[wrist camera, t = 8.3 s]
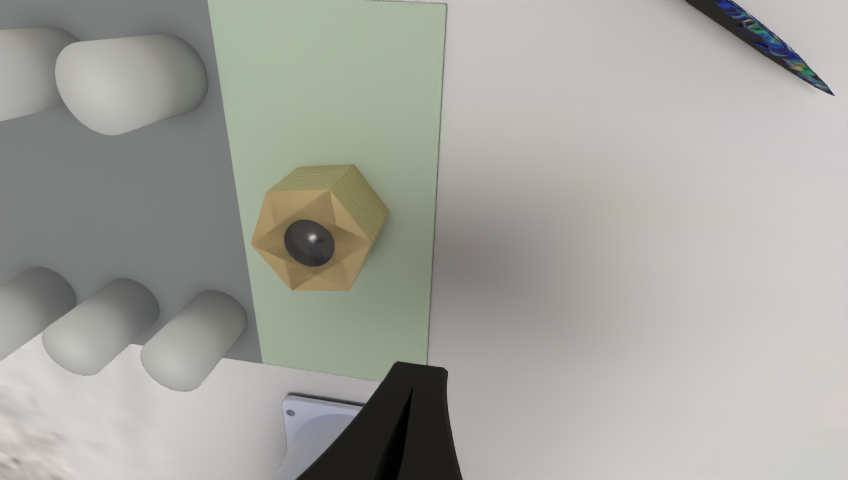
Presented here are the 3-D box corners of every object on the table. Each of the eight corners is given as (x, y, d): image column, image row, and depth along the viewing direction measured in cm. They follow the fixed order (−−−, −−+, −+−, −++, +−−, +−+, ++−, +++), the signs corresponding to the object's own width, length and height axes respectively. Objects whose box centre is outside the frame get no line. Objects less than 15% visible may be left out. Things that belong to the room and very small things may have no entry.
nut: (396, 254, 21) (379, 291, 19) (293, 256, 22) (263, 291, 20) (382, 162, 19) (361, 188, 17) (271, 168, 20) (234, 193, 18)
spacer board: (425, 385, 25) (410, 453, 21) (-5, 320, 28) (-82, 368, 25) (446, 4, 17) (428, 5, 13) (-165, -25, 20) (-319, -31, 16)
